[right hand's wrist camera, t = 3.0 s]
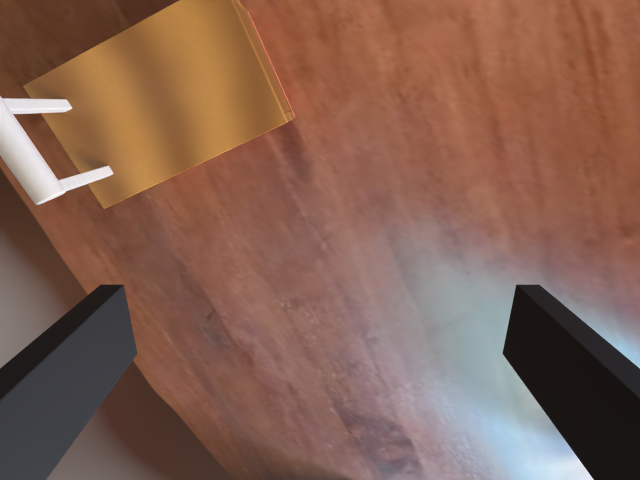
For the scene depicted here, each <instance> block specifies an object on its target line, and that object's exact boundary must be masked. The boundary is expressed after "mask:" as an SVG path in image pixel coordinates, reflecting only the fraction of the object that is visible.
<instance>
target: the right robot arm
mask: <svg viewBox="0 0 640 480" xmlns="http://www.w3.org/2000/svg"><path fill="white" fill-rule="evenodd" d="M136 355H137V350H136V345H135V339H134V334H133V329H132V324H131V319H130V314H129V309H128V304H127V299H126V294H125V289H124V285H100V286H99V287H97V288H96V289H95V290H94V291H93V292H91V293H90V294H89V295H88V296H87V297H85V298H84V299H83V300H82V301H81V302H79V303H78V304H77V305H76V306H75V307H73V308H72V309H71V310H70V311H69V312H68V313H66V314H65V315H64V316H63V317H62V318H60V319H59V320H58V321H57V322H56V323H54V324H53V325H52V326H51V327H50V328H48V329H47V330H46V331H45V332H44V333H42V334H41V335H40V336H39V337H38V338H36V339H35V340H34V341H33V342H32V343H30V344H29V345H28V346H27V347H26V348H24V349H23V350H22V351H21V352H20V353H18V354H17V355H16V356H15V357H14V358H12V359H11V360H10V361H9V362H8V363H6V364H5V365H4V366H3V367H2V368H1V369H0V480H46V479H47V478H48V476H49V475H50V473H51V472H52V471H53V469H54V468H55V467H56V465H57V464H58V463H59V461H60V460H61V458H62V457H63V456H64V454H65V453H66V451H67V450H68V449H69V447H70V446H71V445H72V443H73V442H74V440H75V439H76V438H77V436H78V435H79V434H80V432H81V431H82V429H83V428H84V427H85V425H86V424H87V422H88V421H89V420H90V418H91V417H92V416H93V414H94V413H95V411H96V410H97V409H98V407H99V406H100V405H101V403H102V402H103V400H104V399H105V398H106V396H107V395H108V394H109V392H110V391H111V389H112V388H113V387H114V385H115V384H116V382H117V381H118V380H119V378H120V377H121V376H122V374H123V373H124V371H125V370H126V369H127V367H128V366H129V364H130V363H131V362H132V360H133V359H134V358H135V356H136ZM503 355H504V356H505V358H506V359H507V360H508V362H509V363H510V365H511V366H512V367H513V369H514V370H515V371H516V373H517V374H518V376H519V377H520V378H521V380H522V381H523V382H524V384H525V385H526V387H527V388H528V389H529V391H530V392H531V394H532V395H533V396H534V398H535V399H536V400H537V402H538V403H539V405H540V406H541V407H542V409H543V410H544V411H545V413H546V414H547V416H548V417H549V418H550V420H551V421H552V422H553V424H554V425H555V427H556V428H557V429H558V431H559V432H560V434H561V435H562V436H563V438H564V439H565V440H566V442H567V443H568V445H569V446H570V447H571V449H572V450H573V451H574V453H575V454H576V456H577V457H578V458H579V460H580V461H581V463H582V464H583V465H584V467H585V468H586V469H587V471H588V472H589V474H590V475H591V476H592V478H593V479H594V480H640V368H638V367H637V366H636V365H635V364H634V363H632V362H631V361H630V360H629V359H628V358H626V357H625V356H624V355H623V354H622V353H620V352H619V351H618V350H617V349H616V348H614V347H613V346H612V345H611V344H610V343H608V342H607V341H606V340H605V339H604V338H602V337H601V336H600V335H599V334H598V333H596V332H595V331H594V330H593V329H592V328H590V327H589V326H588V325H587V324H586V323H584V322H583V321H582V320H581V319H580V318H578V317H577V316H576V315H575V314H574V313H572V312H571V311H570V310H569V309H568V308H567V307H565V306H564V305H563V304H562V303H561V302H559V301H558V300H557V299H556V298H555V297H553V296H552V295H551V294H550V293H549V292H547V291H546V290H545V289H544V288H543V287H541V286H540V285H516V289H515V294H514V299H513V304H512V309H511V314H510V319H509V324H508V329H507V334H506V339H505V345H504V350H503Z"/></svg>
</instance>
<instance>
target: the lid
mask: <svg viewBox="0 0 640 480" xmlns="http://www.w3.org/2000/svg"><path fill="white" fill-rule="evenodd" d="M23 87H24V89H25V90H26V92H27V93H28V95H29V96H30V98H31V99H10V98H1V96H0V156H1V157H2V159H3V160H4V162H5V163H6V164H7V166H8V167H9V169H10V170H11V171H12V173H13V174H14V175H15V177H16V178H17V180H18V181H19V182H20V184H21V185H22V187H23V188H24V189H25V191H26V192H27V193H28V195H29V196H30V198H31V199H32V200H33V202H34V203H35V204H36V205H38V204H41V203H44V202H46V201H49V200H51V199H53V198H56V197H58V196H60V195H62V194H64V193H65V191H68V190H71V189H74V188H77V187H80V186H83V185H85V184H88V186H89V187H90V189H91V190H92V192H93V193H94V195H95V196H96V198H97V199H98V201H99V202H100V204H101V205H102V207H103V208H104V209H105V208H107V207H109V206H111V205H113V204H115V203H118V202H120V201H122V200H124V199H126V198H128V197H130V196H132V195H134V194H137V193H139V192H141V191H143V190H145V189H147V188H149V187H151V186H154V185H156V184H158V183H160V182H162V181H164V180H166V179H168V178H171V177H173V176H175V175H177V174H179V173H181V172H183V171H185V170H187V169H190V168H192V167H194V166H196V165H198V164H200V163H202V162H204V161H207V160H209V159H211V158H213V157H215V156H217V155H219V154H221V153H223V152H226V151H228V150H230V149H232V148H234V147H236V146H238V145H240V144H243V143H245V142H247V141H249V140H251V139H253V138H255V137H257V136H259V135H262V134H264V133H266V132H268V131H270V130H272V129H274V128H276V127H279V126H281V125H283V124H285V123H287V122H288V120H287V117H286V115H285V113H284V111H283V109H282V106H281V104H280V102H279V100H278V98H277V95H276V93H275V91H274V89H273V87H272V84H271V82H270V80H269V78H268V75H267V73H266V71H265V69H264V67H263V64H262V62H261V60H260V58H259V56H258V53H257V51H256V49H255V47H254V45H253V42H252V40H251V38H250V36H249V33H248V31H247V29H246V27H245V25H244V22H243V20H242V18H241V16H240V14H239V11H238V9H237V7H236V5H235V3H234V0H179V1H177V2H175V3H173V4H172V5H170V6H168V7H166V8H164V9H162V10H161V11H159V12H157V13H155V14H153V15H152V16H150V17H148V18H146V19H144V20H142V21H141V22H139V23H137V24H135V25H133V26H131V27H130V28H128V29H126V30H124V31H122V32H120V33H119V34H117V35H115V36H113V37H111V38H109V39H108V40H106V41H104V42H102V43H100V44H98V45H97V46H95V47H93V48H91V49H89V50H87V51H86V52H84V53H82V54H80V55H78V56H76V57H75V58H73V59H71V60H69V61H67V62H65V63H64V64H62V65H60V66H58V67H56V68H54V69H53V70H51V71H49V72H47V73H45V74H43V75H42V76H40V77H38V78H36V79H34V80H32V81H31V82H29V83H27V84H25V85H23ZM28 113H41V115H42V116H43V118H44V119H45V121H46V122H47V124H48V125H49V127H50V128H51V130H52V131H53V133H54V134H55V136H56V137H57V139H58V140H59V142H60V143H61V145H62V146H63V148H64V149H65V151H66V152H67V154H68V155H69V157H70V159H71V160H72V162H73V163H74V165H75V166H76V168H77V169H78V171H79V172H80V174H78V175H74V176H71V177H68V178H64V179H61V180H58V179H57V178H56V177H55V175H54V174H53V172H52V171H51V169H50V168H49V166H48V165H47V163H46V162H45V160H44V159H43V158H42V156H41V155H40V153H39V152H38V150H37V149H36V147H35V146H34V144H33V143H32V141H31V140H30V139H29V137H28V136H27V134H26V133H25V131H24V130H23V128H22V127H21V125H20V124H19V123H18V121H17V120H16V118H15V117H14V115H13V114H28Z"/></svg>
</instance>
